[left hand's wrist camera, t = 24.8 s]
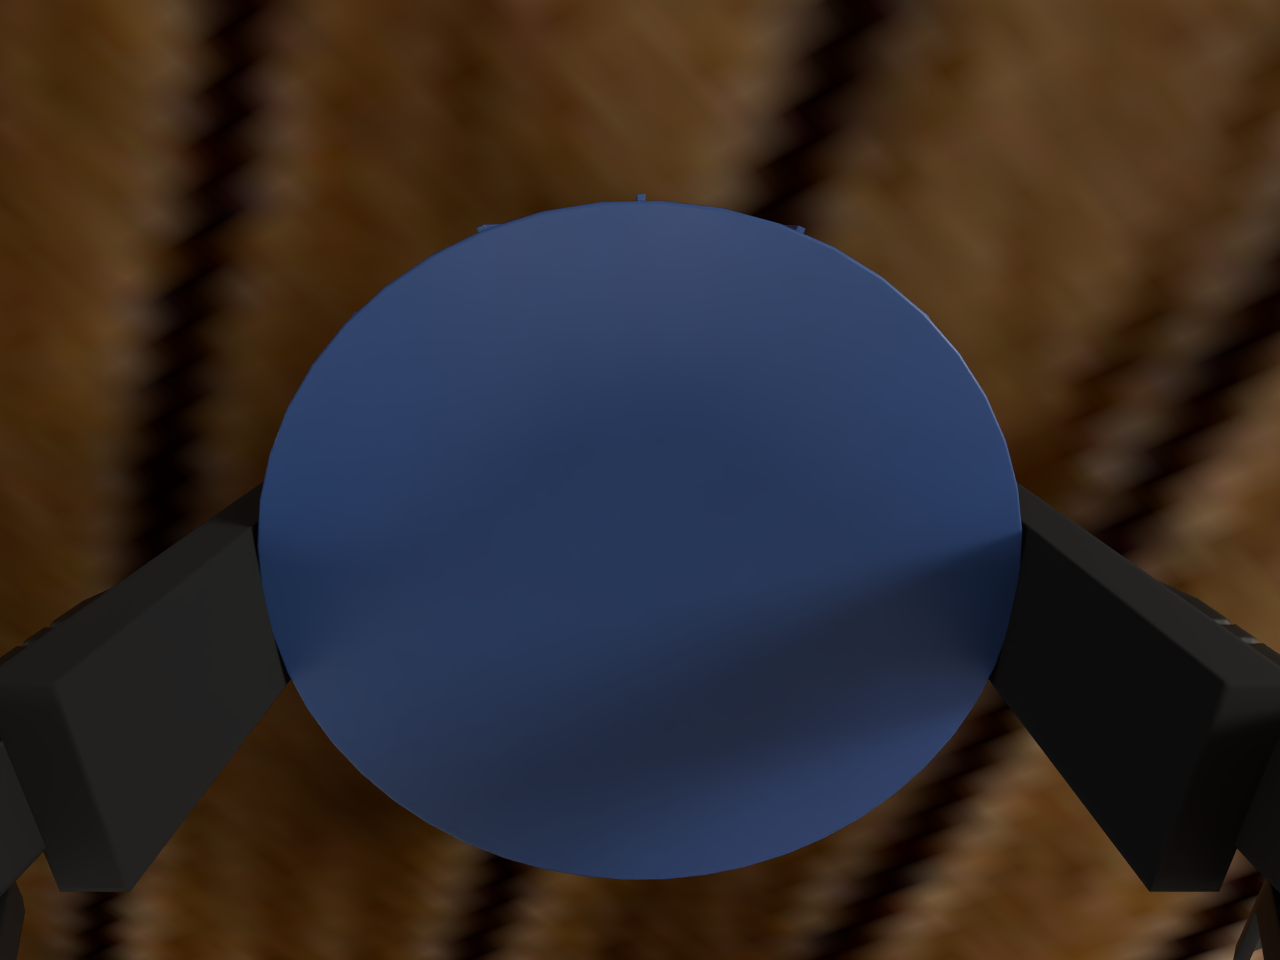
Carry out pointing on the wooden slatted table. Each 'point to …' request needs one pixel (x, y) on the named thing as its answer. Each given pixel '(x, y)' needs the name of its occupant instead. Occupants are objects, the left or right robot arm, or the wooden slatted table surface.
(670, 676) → the lid
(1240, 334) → the wooden slatted table surface
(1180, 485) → the wooden slatted table surface
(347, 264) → the wooden slatted table surface
